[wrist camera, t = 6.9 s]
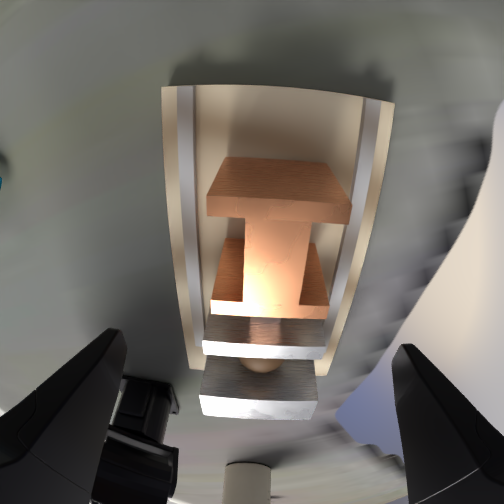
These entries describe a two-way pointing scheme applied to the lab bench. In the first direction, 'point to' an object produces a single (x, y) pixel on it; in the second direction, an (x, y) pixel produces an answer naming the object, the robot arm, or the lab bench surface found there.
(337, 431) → the lab bench surface
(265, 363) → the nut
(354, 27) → the lab bench surface
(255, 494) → the travel mug
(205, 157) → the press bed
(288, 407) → the brushed steel block
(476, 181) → the lab bench surface
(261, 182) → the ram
